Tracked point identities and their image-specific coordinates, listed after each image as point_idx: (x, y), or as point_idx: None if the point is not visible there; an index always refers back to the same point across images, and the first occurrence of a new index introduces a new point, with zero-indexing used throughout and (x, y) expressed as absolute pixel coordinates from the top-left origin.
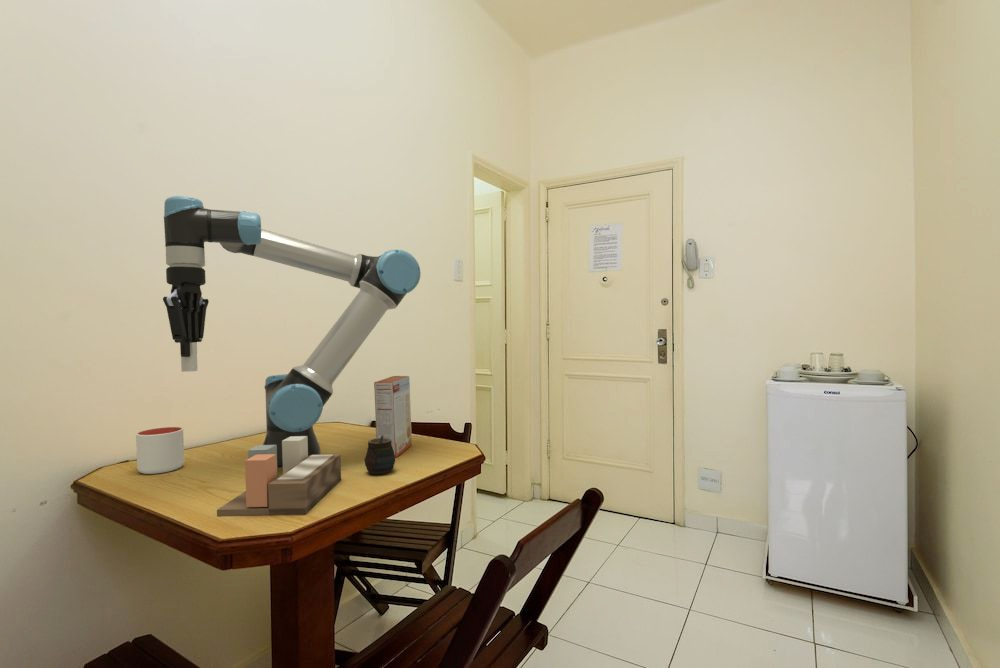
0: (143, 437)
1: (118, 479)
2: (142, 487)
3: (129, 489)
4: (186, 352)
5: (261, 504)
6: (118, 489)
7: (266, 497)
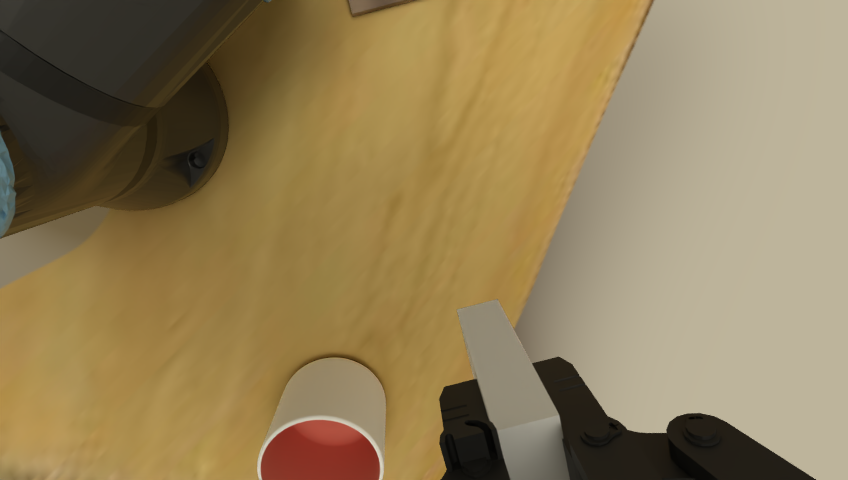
0: (383, 458)
1: (423, 419)
2: None
3: None
4: (577, 376)
5: None
6: None
7: None
